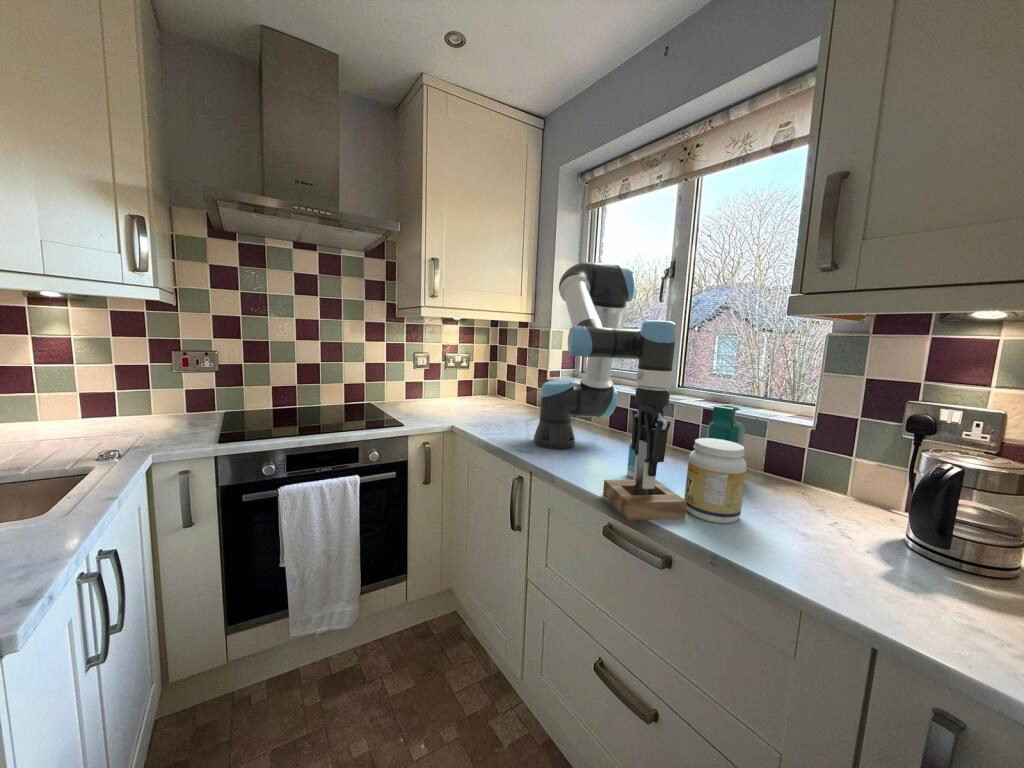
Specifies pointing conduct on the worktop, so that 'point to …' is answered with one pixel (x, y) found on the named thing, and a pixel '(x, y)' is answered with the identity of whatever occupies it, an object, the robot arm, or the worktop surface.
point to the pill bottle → (631, 461)
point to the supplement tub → (715, 480)
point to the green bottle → (726, 425)
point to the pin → (641, 469)
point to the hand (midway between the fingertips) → (643, 484)
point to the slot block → (644, 501)
